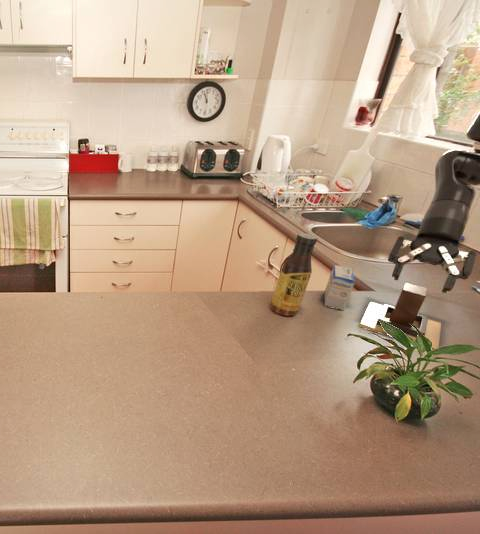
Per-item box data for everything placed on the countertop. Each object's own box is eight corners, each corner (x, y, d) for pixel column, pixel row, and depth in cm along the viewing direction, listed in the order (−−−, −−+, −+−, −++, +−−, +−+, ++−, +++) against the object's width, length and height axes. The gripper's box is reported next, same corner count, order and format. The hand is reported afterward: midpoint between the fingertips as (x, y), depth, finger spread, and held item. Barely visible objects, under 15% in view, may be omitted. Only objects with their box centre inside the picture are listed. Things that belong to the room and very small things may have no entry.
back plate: (439, 326, 91) (444, 317, 90) (436, 353, 81) (441, 343, 80) (368, 304, 99) (372, 296, 98) (358, 327, 90) (362, 317, 89)
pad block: (411, 322, 90) (427, 288, 86) (409, 330, 87) (425, 296, 83) (390, 315, 93) (405, 282, 89) (388, 323, 89) (402, 289, 86)
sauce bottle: (279, 318, 92) (302, 241, 84) (264, 305, 98) (284, 231, 89) (304, 316, 93) (329, 240, 85) (287, 303, 99) (309, 230, 90)
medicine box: (323, 293, 104) (333, 264, 100) (342, 298, 102) (353, 268, 98) (323, 306, 98) (334, 275, 94) (344, 311, 96) (355, 280, 92)
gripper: (407, 209, 91) (383, 268, 88) (491, 223, 82) (467, 289, 79) (401, 225, 97) (379, 281, 94) (479, 240, 88) (457, 302, 85)
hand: (419, 284), depth 87 cm, fingers open, 8 cm apart
